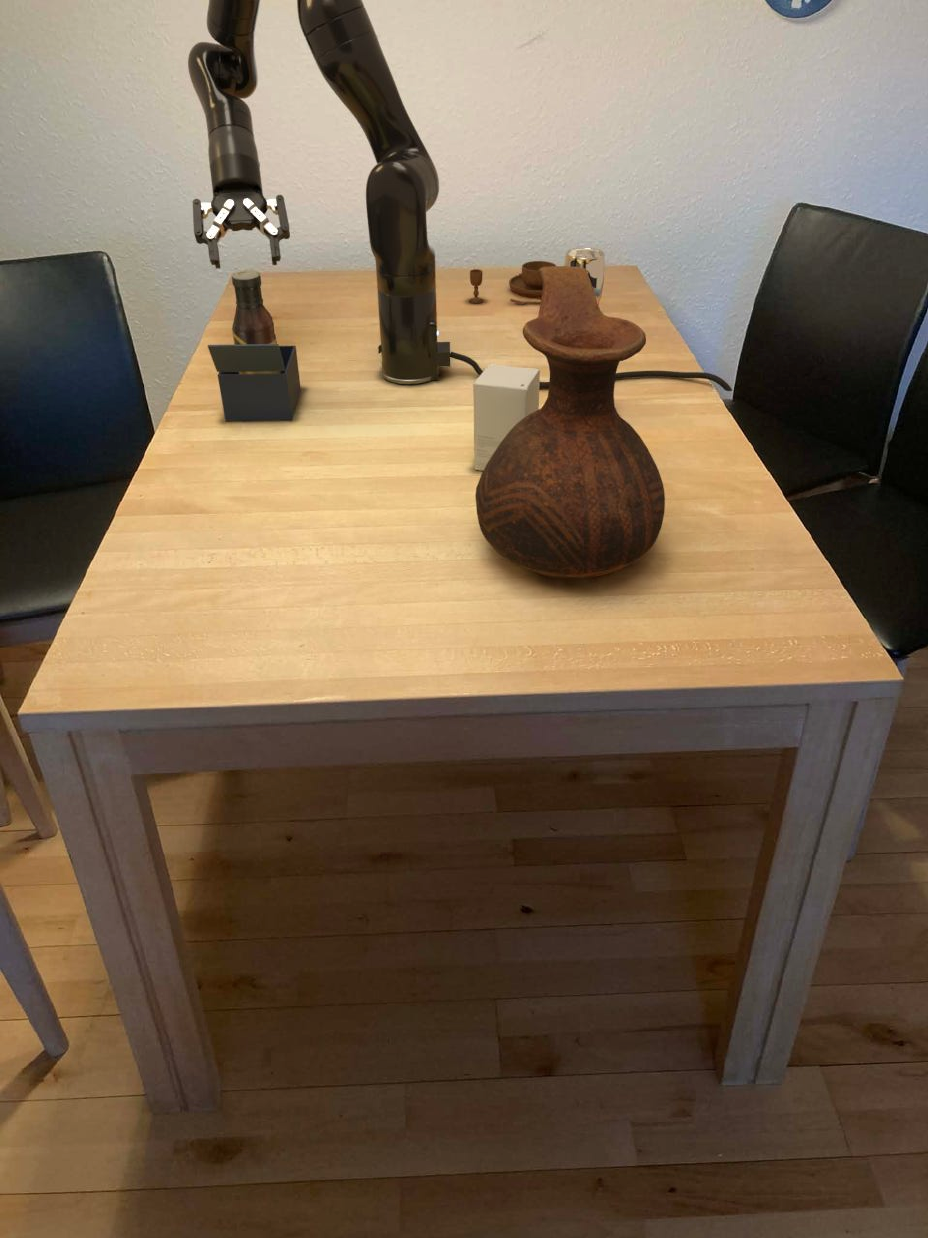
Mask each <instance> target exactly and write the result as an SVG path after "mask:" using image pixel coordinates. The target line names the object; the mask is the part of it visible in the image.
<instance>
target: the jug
mask: <svg viewBox="0 0 928 1238" xmlns="http://www.w3.org/2000/svg"><path fill="white" fill-rule="evenodd" d="M538 273H539V275H540V277H541V279H542V284H543V290H542V298H540V302H541V303H539V310H538V315H537V317H535V318H534V319H531V320H529V321H527V322H525V324H524V325H523V327H522V336H523V337H524V339H525V341H526V342H527V343H528V344H529V346H530V347H532V348H533V349H534V350H535V351H538V352H539V353H540V354H542V355H543V356H545V358H546V361H547V363H548V368H549V380H548V382H549V388H548V391H547V392H548V393H547V397H546V399H545V402H544V404H543V405H542V406H541V408H539V410H537V411H535V412H533V413H530V414H529V415H528V416H525V418H523V419H522V420H521V421H519V422H518V423H517V424H516V425H515V426H514V427H513V428H512V429H511V430H510V431H509V433H508V434H507V435H506V437H505V438H504V439H503V440H502V442H501V443H500V444H499V446H498V447H497V449H496V450H495V452H494V453H493V455H492V457H491V458H490V460H489V461H488V463H487V465H486V467H485V469H484V471H481V472H482V473H481V474H480V477H479V479H478V483H477V485H476V488H475V506H476V516H477V521H478V525H479V529H480V531H481V534H482V536H483V537H484V539H485V540H486V541H487V543H488V544H490V546H491V547H492V548H493V550H495V552H496V553H497V554H498V555H499V556H501V557H502V558H503V559H504V560H506V561H508V562H510V563H512V564H514V565H516V566H519V567H521V568H523V569H526V570H529V571H532V572H535V573H537V574H539V575H541V576H545V577H549V578H554V579H589V578H596V577H601V576H604V575H608V574H611V573H614V572H616V571H619V570H620V569H623V568H625V567H627V566H629V565H632V564H634V563H635V562H637V561H639V560H640V559H642V558H643V557H644V556H645V555H646V554H647V553H648V552H649V551H650V549H652V547H653V546H654V544H655V543H656V541H657V539H658V537H659V535H660V532H661V530H662V527H663V523H664V518H665V511H666V510H665V509H666V508H665V507H666V495H665V487H664V482H663V480H662V476H661V474H660V471H659V469H658V466H657V464H656V462H655V460H654V458H653V456H652V453H650V450H649V448H648V447H647V445H646V443H645V442H644V440H643V439H642V437H641V436H640V435H639V433H638V432H637V431H636V430H635V428H634V427H633V426H632V424H630V423H629V422H628V421H626V420H625V419H623V417H621V416H620V414H619V412H618V410H617V409H616V406H615V383H616V379H615V376H616V373H617V371H618V366H619V365H620V362H623V361H627V360H629V359H630V358H632V357H634V356H635V355H636V354H638V353H640V352H641V351H642V350H643V349H644V347H645V345H647V337H646V332H645V331H644V330H643V329H642V328H641V327H640V326H639V325H638V324H636V323H635V322H632V321H630V320H627V319H625V318H619V317H615V316H614V317H613V316H608V315H605V314H604V313H603V312H602V310H601V309H600V305H599V306H598V303H597V300H596V297H595V293H594V290H593V287H592V284H591V281H590V278H589V276H588V273H587V271H586V269H585V268H582V267H569V266H565V265H561V266H559V265H558V266H557V265H556V266H550V267H542V268H540V269H539V270H538Z"/></svg>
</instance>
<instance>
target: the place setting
mask: <svg viewBox="0 0 928 1238" xmlns="http://www.w3.org/2000/svg"><path fill="white" fill-rule="evenodd" d="M550 266H557V265H556V264H555V263H553V262H550V261H545V260H531V261H527V262H525V263H523V264H522V265H521V273H518V274H517V275H514V276H513V277H511V278H510V279H509V281H508V285H509V288H510V289H511V291H513V292H514V293H515V294H518V295H519V296H522V297H526V298H533V299H541V298H542V290H543V284H542V279H541V277H540V275H539V273H538V270H539V269H540V268H542V267H550ZM469 282H470V285H471V286H473V289H474V290H473V296H474V297H473V298H470V299H469V300H468V302H469V303H470V304H473V305H479V304H483V302H484V299H483V298H479V295H480V291H479V286H481V285H482V284H483V270H482V269H478V268H476V269H475V268H473V269H470V270H469ZM510 302H512V303H515V304H519V305H525V304H540V303H541V301H519V300H517V299H512V298H510Z"/></svg>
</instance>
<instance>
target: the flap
mask: <svg viewBox="0 0 928 1238" xmlns="http://www.w3.org/2000/svg"><path fill="white" fill-rule="evenodd" d="M279 346H280V345H279V343H277V344H237V345H234V344H207V350H208V351H209V354H210V357H211V360H212V362H213V364H214V367H215V370H216V372H217V373H219V372H257V371H285V367H284V363H283V359H282V356H281V352H280V348H279Z"/></svg>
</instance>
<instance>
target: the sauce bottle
mask: <svg viewBox="0 0 928 1238" xmlns="http://www.w3.org/2000/svg"><path fill="white" fill-rule="evenodd" d="M231 282H232V283H231V285H232V286H233V288H234V294H235V304H236V307H235V312H234V317H233V321H232V322H233V323H232V326H231V332H232V339H233V345H237V344H278V341H277V335H276V333H275V323H274V319H273V316H272V315H271V313H270V312H269V310H268V309H267V308H266V306H265V305H264V299H263V295H262V288H261V287H262V278H261V273H260V272H259V271H257V270H252V269H244V270H239V271H236V272H234V273H232V275H231ZM239 374H281V371H257V372H239Z"/></svg>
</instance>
